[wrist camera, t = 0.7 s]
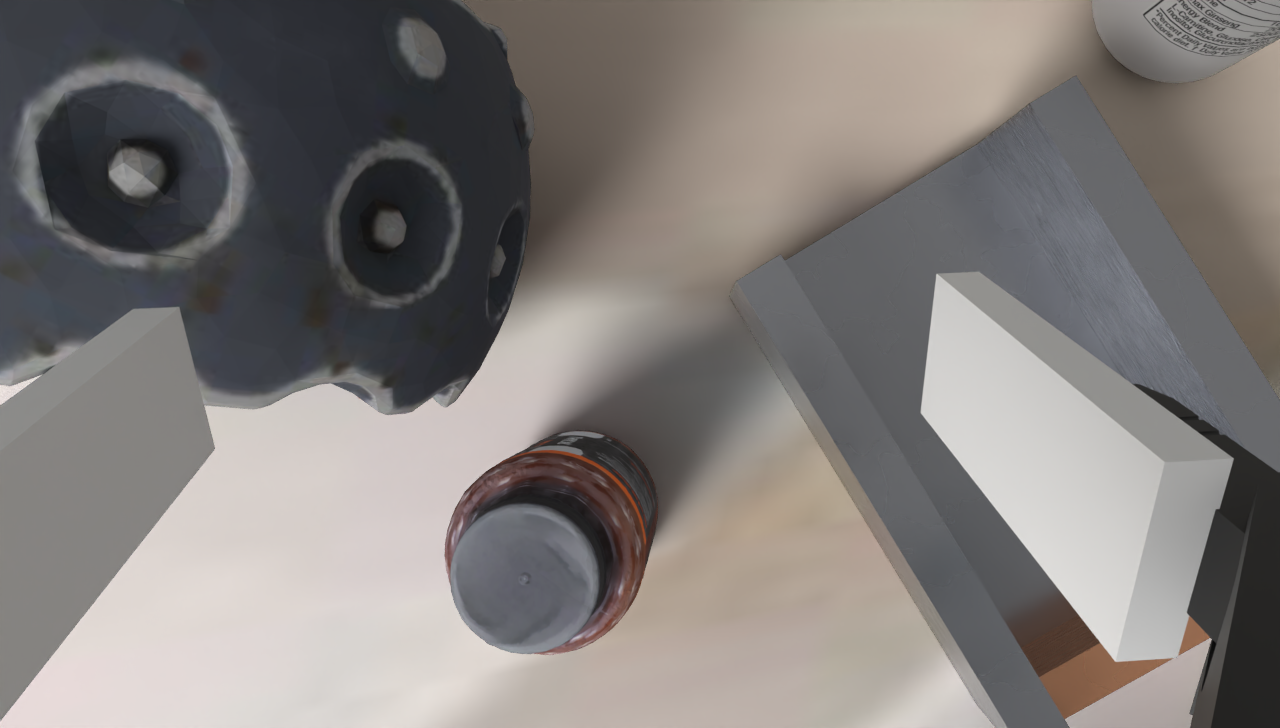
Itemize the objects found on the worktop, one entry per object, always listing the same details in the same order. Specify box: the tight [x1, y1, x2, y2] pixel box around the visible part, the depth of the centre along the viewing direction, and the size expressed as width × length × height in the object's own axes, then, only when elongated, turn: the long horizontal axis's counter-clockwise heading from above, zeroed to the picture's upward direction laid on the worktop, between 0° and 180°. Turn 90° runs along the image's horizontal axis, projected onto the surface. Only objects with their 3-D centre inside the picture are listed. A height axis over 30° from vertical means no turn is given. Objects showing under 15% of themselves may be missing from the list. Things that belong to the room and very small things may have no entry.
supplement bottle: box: [445, 431, 658, 655], centre depth 28 cm, size 6×6×11 cm
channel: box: [729, 76, 1280, 728], centre depth 30 cm, size 18×12×6 cm, turn 31°
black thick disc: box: [0, 0, 535, 415], centre depth 24 cm, size 11×20×20 cm, turn 81°
